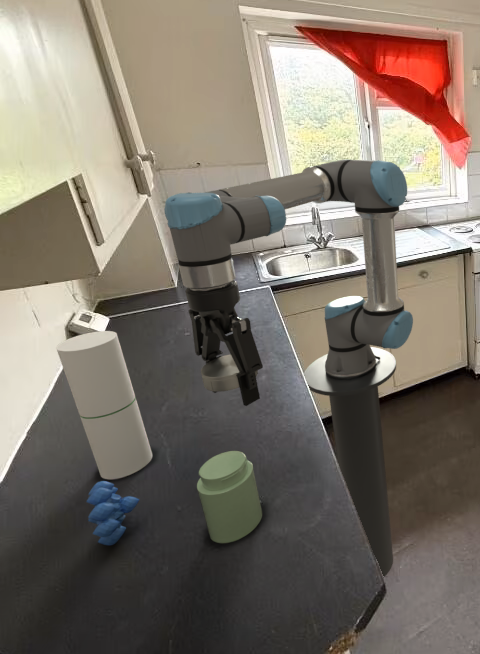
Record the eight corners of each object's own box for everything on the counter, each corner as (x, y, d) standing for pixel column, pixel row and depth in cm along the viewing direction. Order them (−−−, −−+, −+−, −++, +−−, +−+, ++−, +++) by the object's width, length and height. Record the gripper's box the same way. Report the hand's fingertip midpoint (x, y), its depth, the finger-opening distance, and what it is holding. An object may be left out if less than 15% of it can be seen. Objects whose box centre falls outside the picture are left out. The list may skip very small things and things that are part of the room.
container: (93, 468, 91) (49, 343, 81) (143, 445, 98) (107, 327, 88) (109, 485, 86) (64, 355, 77) (159, 459, 93) (124, 337, 84)
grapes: (149, 546, 74) (132, 492, 70) (96, 571, 70) (75, 515, 66) (145, 505, 82) (130, 454, 78) (98, 525, 78) (79, 472, 74)
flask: (260, 497, 84) (248, 441, 80) (264, 528, 78) (252, 469, 74) (209, 517, 80) (194, 459, 76) (209, 552, 73) (193, 490, 69)
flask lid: (244, 390, 76) (241, 376, 75) (193, 392, 75) (190, 378, 74) (265, 365, 84) (263, 352, 83) (220, 367, 83) (217, 353, 82)
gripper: (272, 287, 72) (292, 399, 79) (197, 268, 81) (221, 372, 88) (228, 302, 66) (254, 422, 73) (152, 280, 74) (181, 390, 81)
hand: (236, 395), depth 80 cm, fingers closed on flask lid, 8 cm apart
